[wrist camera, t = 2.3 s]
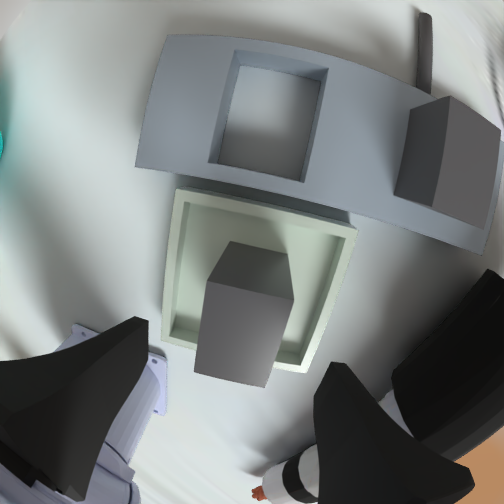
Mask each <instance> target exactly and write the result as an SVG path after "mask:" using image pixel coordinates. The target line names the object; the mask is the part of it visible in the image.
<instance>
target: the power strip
mask: <svg viewBox="0 0 504 504" xmlns="http://www.w3.org/2000/svg"><path fill="white" fill-rule="evenodd" d="M432 57H433V33H432V17H431V16H430V15H429V14H427V13H420V14H419V58H418V74H417V85H416V88H415V87H413V86H411V85H409V84H407V83H405V82H402V81H400V80H398V79H396V78H393V77H391V76H389V75H386V74H384V73H381V72H379V71H376V70H373V69H371V68H368V67H365V66H363V65H360V64H357V63H354V62H351V61H348V60H345V59H341V58H338V57H335V56H331V55H328V54H324V53H320V52H317V51H313V50H309V49H304V48H300V47H295V46H291V45H286V44H280V43H275V42H269V41H262V40H255V39H248V38H239V37H228V36H214V35H167V38H166V41H165V44H164V47H163V50H162V53H161V56H160V59H159V62H158V66H157V69H156V72H155V76H154V80H153V83H152V87H151V91H150V95H149V99H148V103H147V107H146V111H145V115H144V120H143V125H142V129H141V134H140V139H139V145H138V150H137V156H136V162H135V167H138V168H145V169H152V170H159V171H165V172H171V173H177V174H183V175H189V176H195V177H200V178H206V179H211V180H217V181H222V182H227V183H232V184H237V185H241V186H246V187H251V188H256V189H260V190H265V191H269V192H274V193H278V194H282V195H286V196H291V197H295V198H299V199H303V200H307V201H311V202H315V203H319V204H322V205H326V206H330V207H334V208H337V209H341V210H345V211H348V212H352V213H355V214H359V215H362V216H366V217H369V218H373V219H376V220H379V221H383V222H386V223H389V224H392V225H395V226H399V227H402V228H405V229H408V230H411V231H414V232H417V233H420V234H423V235H426V236H429V237H432V238H435V239H437V240H440V241H443V242H446V243H449V244H451V245H454V246H457V247H460V248H462V249H465V250H468V251H470V252H473V253H475V254H478V255H480V256H482V254H483V251H484V248H485V245H486V242H487V238H488V235H489V231H490V228H491V224H492V220H493V216H494V212H495V207H496V203H497V198H498V193H499V188H500V182H501V176H502V169H503V162H504V142H503V141H501V140H500V136H501V130H500V129H499V128H497V127H496V126H495V125H494V124H492V123H491V122H489V121H488V120H487V119H485V118H484V117H483V116H481V115H480V114H478V113H477V112H475V111H474V110H472V109H471V108H469V107H468V106H466V105H465V104H463V103H462V102H460V101H458V100H457V99H455V98H454V97H452V96H447V97H444V98H441V99H437V98H435V97H433V96H431V95H430V93H431V80H432ZM240 65H243V66H250V67H257V68H263V69H269V70H274V71H279V72H284V73H289V74H294V75H298V76H302V77H306V78H310V79H314V80H318V81H321V85H320V90H319V95H318V100H317V105H316V110H315V115H314V119H313V124H312V129H311V133H310V138H309V142H308V147H307V151H306V156H305V160H304V164H303V169H302V173H301V177H300V181H297V180H293V179H289V178H285V177H280V176H276V175H272V174H267V173H263V172H258V171H253V170H249V169H244V168H239V167H234V166H228V165H223V164H217V163H218V158H219V153H220V148H221V144H222V139H223V134H224V130H225V126H226V121H227V117H228V112H229V108H230V104H231V100H232V96H233V92H234V88H235V84H236V80H237V76H238V72H239V68H240Z"/></svg>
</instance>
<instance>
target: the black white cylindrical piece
mask: <svg viewBox="0 0 504 504" xmlns="http://www.w3.org/2000/svg"><path fill="white" fill-rule="evenodd" d="M392 384H393V389H392V390H391V391H390V392H388V393H387V394H386V395H385V397H384V398H383V399H382V400H381V401H379V402H378V404H379V405H380V406H381V407H382V408H383V410H384V411H385V412H386V413H387V414H388V415H389V416H390V417H391V418H392V419H393V420H394V421H395V422H396V423H397V424H398V425H399V426H401V427H402V428H403V429H404V430H405V431H406V432H407V433H409V434H410V435H411V436H412V437H414V438H415V439H416V440H418V441H419V442H420V443H422V444H423V445H425V446H426V447H428V448H429V449H431V450H432V451H434V452H436V453H437V454H439V455H441V456H443V457H445V458H447V459H449V460H451V461H453V462H454V461H456V460H457V459H459V458H461V457H462V456H464V455H465V454H467V453H468V452H470V451H471V450H473V449H474V448H475V447H477V446H478V445H480V444H481V443H482V442H484V441H485V440H486V439H488V438H489V437H490V436H491V435H493V434H494V433H495V432H496V431H498V430H499V429H500V428H502V427H503V426H504V279H503V278H502V277H500V276H499V275H498V274H497V273H495V272H494V271H492V270H489V269H487V270H486V271H485V273H484V274H483V275H482V277H481V278H480V279H479V281H478V282H477V283H476V284H475V286H474V287H473V288H472V289H471V291H470V292H469V293H468V294H467V296H466V297H465V298H464V299H463V300H462V302H461V303H460V304H459V305H458V306H457V307H456V309H455V310H454V311H453V312H452V313H451V314H450V315H449V317H448V318H447V319H446V320H445V321H444V322H443V323H442V324H441V325H440V326H439V327H438V328H437V329H436V330H435V331H434V332H433V333H432V334H431V335H430V336H429V337H428V338H427V339H426V340H425V341H424V342H423V343H422V344H421V345H420V346H419V347H418V348H417V349H416V350H415V351H414V352H413V353H412V354H411V355H410V356H409V357H407V358H406V359H405V360H404V361H403V362H402V363H401V364H400V365H398V366H397V367H396V368H395V369H394V371H393V375H392ZM318 492H319V460H318V451H317V444H315V445H313V446H311V447H310V448H308V449H307V450H305V451H304V452H302V453H300V454H298V455H295V456H293V457H292V458H290V459H289V460H287V461H285V462H283V463H281V464H278V465H276V466H274V467H271V468H270V469H269V470H268V471H267V472H266V473H265V475H264V477H263V482H262V485H261V486H259V487H256V488H255V489H252V493H254V494H253V495H252V497H253V498H257V500H258V501H261V500H263V499H268V500H269V501H270V502H271V503H272V504H308V503H315V502H318Z"/></svg>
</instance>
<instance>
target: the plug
mask: <svg viewBox="0 0 504 504" xmlns="http://www.w3.org/2000/svg"><path fill="white" fill-rule="evenodd" d="M293 304H294V293H293V286H292V279H291V272H290V265H289V259H288V254H286V253H281V252H277V251H273V250H268V249H264V248H259V247H255V246H251V245H246V244H242V243H237V242H233V241H230V242H229V243H228V245H227V247H226V248H225V250H224V252H223V254H222V255H221V257H220V259H219V260H218V262H217V264H216V266H215V267H214V269H213V271H212V272H211V274H210V276H209V278H208V279H207V282H206V288H205V295H204V301H203V308H202V315H201V321H200V328H199V336H198V343H197V350H196V358H195V366H194V372H196V373H199V374H203V375H207V376H211V377H215V378H219V379H224V380H228V381H233V382H237V383H242V384H247V385H252V386H257V387H263V388H265V386H266V383H267V381H268V378H269V375H270V372H271V370H272V367H273V364H274V361H275V358H276V355H277V352H278V349H279V347H280V344H281V341H282V338H283V335H284V332H285V329H286V326H287V322H288V319H289V316H290V313H291V310H292V307H293Z"/></svg>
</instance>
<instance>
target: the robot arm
mask: <svg viewBox="0 0 504 504" xmlns="http://www.w3.org/2000/svg"><path fill="white" fill-rule="evenodd" d="M148 325H149V321H148V320H145V319H142V318H139V317H136V316H134V317H132V318H130V319H128V320H126V321H124V322H122V323H120V324H118V325H117V326H115V327H113V328H111V329H109V330H107V331H105V332H103V333H101V334H99V333H96V332H94V331H91V330H89V329H87V328H84V327H82V326H80V325H78V324H73V325H72V327H71V329H72V335H70V336H69V337H68V338H67V339H66V340H65V341H64V342H63V343H62V344H61V345H60V346H59V347H58V348H57V349H56V350H55V351H54V352H53V353H50V354H46V355H41V356H36V357H32V358H27V359H19V360H10V361H0V504H141V497H140V492H139V489H138V486H137V485H136V483H134V482H133V481H132V479H133V476H134V474H135V471H134V470H133V469H131V468H130V467H129V463H130V461H131V459H132V457H133V454H134V452H135V450H136V448H137V446H138V443H139V441H140V439H141V437H142V435H143V432H144V430H145V428H146V426H147V424H148V421H149V419H150V417H151V415H152V413H155V414H158V415H161V416H164V415H165V414H166V394H167V360H166V358H164V357H163V356H160V355H157V354H154V353H151V352H148ZM154 359H155V360H154ZM156 360H157V361H156ZM313 418H314V426H315V435H316V443H317V451H318V460H319V492H318V504H454V503H456V502H457V501H458V500H460V499H461V498H463V497H464V496H466V495H467V494H468V493H469V492H470V491H472V489H473V488H474V486H475V483H474V480H473V477H472V475H471V472H470V470H469V468H467V467H465V466H462V465H460V464H458V463H455V462H453V461H451V460H449V459H447V458H445V457H443V456H441V455H439V454H437V453H436V452H434V451H432V450H431V449H429V448H428V447H426V446H425V445H423V444H422V443H420V442H419V441H418V440H416V439H415V438H414V437H412V436H411V435H410V434H409V433H407V432H406V431H405V430H404V429H403V428H402V427H401V426H399V425H398V424H397V423H396V422H395V421H394V420H393V419H392V418H391V417H390V416H389V415H388V414H387V413H386V412H385V411H384V410H383V408H382V407H381V406H380V405H379V404H378V403H377V402H376V401H375V399H374V398H373V397H372V396H371V395H370V393H369V392H368V391H367V390H366V388H365V387H364V386H363V385H362V383H361V382H360V381H359V380H358V378H357V377H356V376H355V374H354V373H353V372H352V371H351V369H350V368H349V367H348V366H347V365H346V364H345V363H338V362H331V363H330V365H329V367H328V369H327V371H326V373H325V375H324V377H323V379H322V381H321V383H320V385H319V387H318V389H317V391H316V393H315V395H314V407H313Z"/></svg>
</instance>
